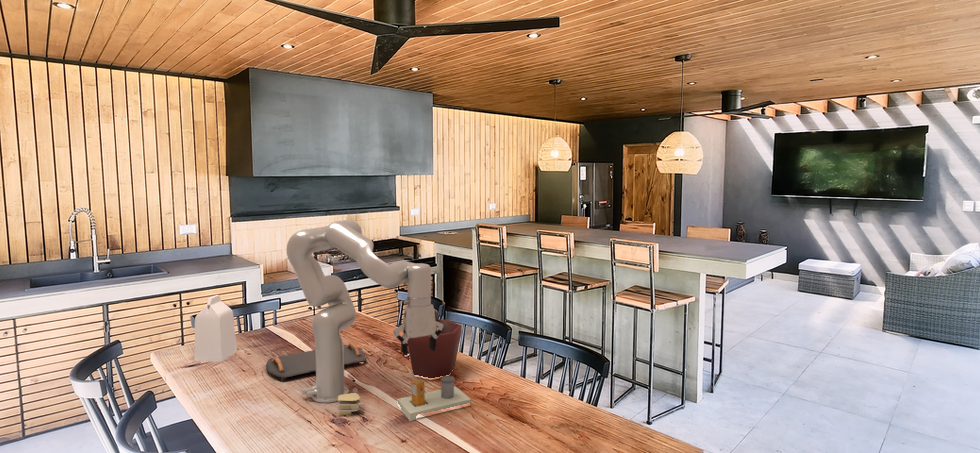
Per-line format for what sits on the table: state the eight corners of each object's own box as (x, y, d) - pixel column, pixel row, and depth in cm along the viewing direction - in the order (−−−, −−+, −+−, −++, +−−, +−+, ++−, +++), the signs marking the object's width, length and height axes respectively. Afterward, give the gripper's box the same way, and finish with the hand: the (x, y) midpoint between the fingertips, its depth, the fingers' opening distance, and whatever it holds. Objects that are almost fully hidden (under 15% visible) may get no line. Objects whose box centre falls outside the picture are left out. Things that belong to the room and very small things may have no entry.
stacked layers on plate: (332, 421, 159) (332, 404, 158) (334, 408, 168) (333, 392, 167) (365, 417, 162) (364, 401, 161) (364, 405, 170) (364, 390, 170)
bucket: (449, 387, 185) (449, 321, 183) (393, 381, 190) (393, 317, 187) (465, 363, 209) (466, 305, 207) (415, 359, 214) (415, 301, 211)
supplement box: (418, 406, 169) (418, 378, 168) (425, 409, 167) (425, 381, 166) (410, 409, 167) (410, 381, 166) (417, 413, 165) (417, 384, 164)
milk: (221, 361, 207) (219, 300, 204) (194, 361, 207) (191, 299, 205) (237, 351, 219) (235, 293, 216) (211, 351, 219) (208, 293, 217)
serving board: (274, 386, 185) (274, 370, 184) (260, 366, 203) (260, 352, 203) (372, 364, 208) (372, 350, 207) (352, 348, 226) (352, 335, 226)
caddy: (410, 421, 159) (410, 394, 158) (397, 406, 169) (397, 381, 169) (470, 406, 170) (471, 381, 169) (455, 392, 180) (455, 369, 180)
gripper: (397, 307, 156) (397, 359, 158) (448, 301, 165) (447, 351, 166) (390, 301, 162) (389, 352, 164) (438, 296, 171) (437, 344, 173)
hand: (418, 351), depth 165 cm, fingers open, 9 cm apart
